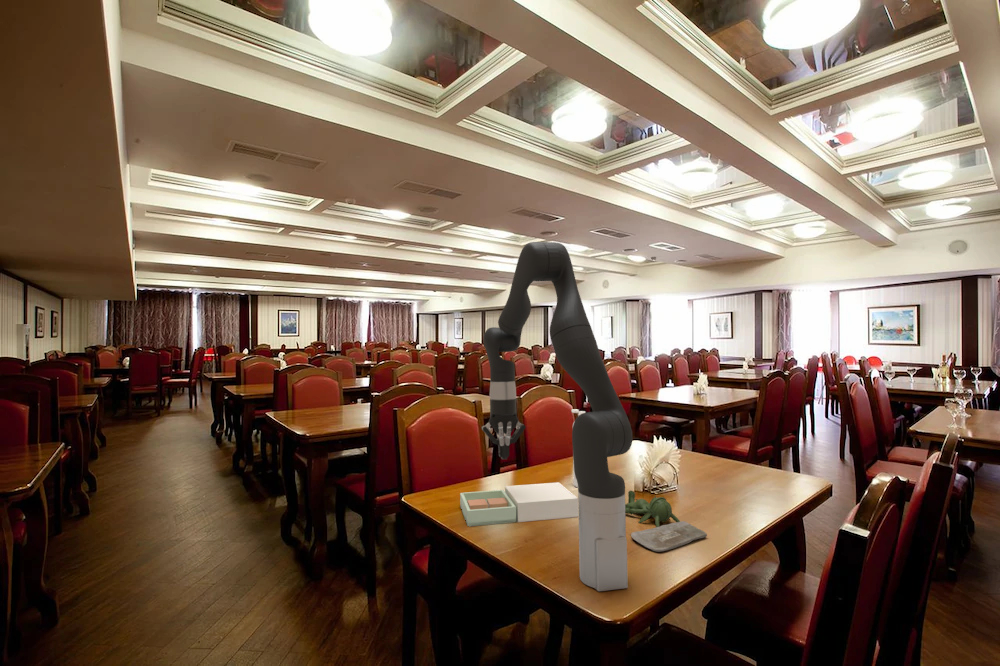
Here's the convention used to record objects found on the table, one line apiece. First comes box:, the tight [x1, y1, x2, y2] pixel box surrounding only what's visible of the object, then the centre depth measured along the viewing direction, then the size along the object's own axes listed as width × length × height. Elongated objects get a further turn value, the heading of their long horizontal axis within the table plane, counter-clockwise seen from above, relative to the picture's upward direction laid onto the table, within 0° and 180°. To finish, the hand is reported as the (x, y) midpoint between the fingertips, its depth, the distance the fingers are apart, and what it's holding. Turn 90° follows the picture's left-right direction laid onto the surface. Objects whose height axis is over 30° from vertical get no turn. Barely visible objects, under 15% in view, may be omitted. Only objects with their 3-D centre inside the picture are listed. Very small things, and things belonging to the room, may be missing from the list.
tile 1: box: [467, 499, 488, 510], centre depth 131 cm, size 5×5×2 cm
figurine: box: [625, 490, 681, 528], centre depth 128 cm, size 11×8×19 cm
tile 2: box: [487, 498, 508, 508], centre depth 132 cm, size 5×5×2 cm
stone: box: [630, 520, 708, 553], centre depth 113 cm, size 18×3×10 cm
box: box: [459, 489, 517, 527], centre depth 131 cm, size 16×13×4 cm
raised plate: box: [504, 481, 579, 523], centre depth 134 cm, size 16×17×5 cm
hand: (504, 458), depth 133 cm, fingers closed
